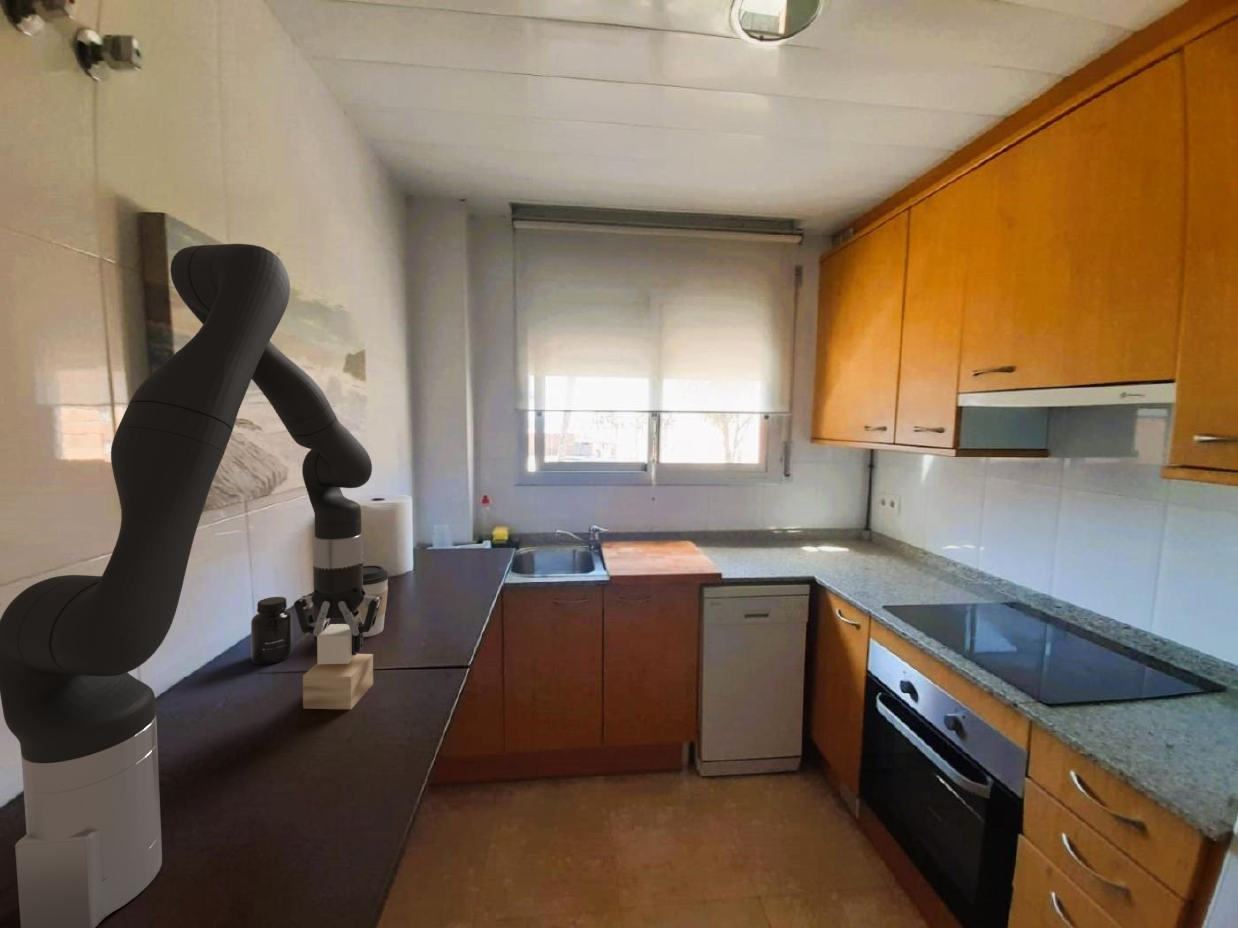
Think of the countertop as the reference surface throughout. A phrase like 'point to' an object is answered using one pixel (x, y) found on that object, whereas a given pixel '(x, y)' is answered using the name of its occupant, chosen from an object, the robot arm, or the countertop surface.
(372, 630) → the coffee cup
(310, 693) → the oak block
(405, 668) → the countertop surface
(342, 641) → the cream cube
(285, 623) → the supplement bottle
